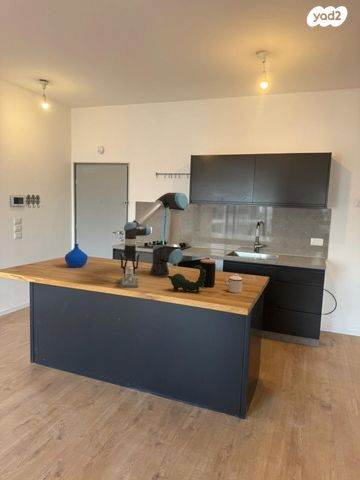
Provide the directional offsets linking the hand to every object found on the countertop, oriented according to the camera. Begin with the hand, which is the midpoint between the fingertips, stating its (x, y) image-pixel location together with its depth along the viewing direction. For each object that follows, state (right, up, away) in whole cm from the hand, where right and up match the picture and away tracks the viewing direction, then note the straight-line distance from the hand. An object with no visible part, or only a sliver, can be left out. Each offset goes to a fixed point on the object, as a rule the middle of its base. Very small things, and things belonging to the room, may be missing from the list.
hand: (129, 278), depth 229 cm
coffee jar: (+54, -6, +3) cm, 54 cm away
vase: (-53, +4, +51) cm, 73 cm away
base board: (0, -4, +1) cm, 4 cm away
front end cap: (+1, -3, -8) cm, 9 cm away
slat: (0, 0, 0) cm, 0 cm away
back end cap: (-1, -1, +9) cm, 9 cm away
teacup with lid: (+70, -8, -7) cm, 71 cm away
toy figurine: (+39, -7, -12) cm, 41 cm away
